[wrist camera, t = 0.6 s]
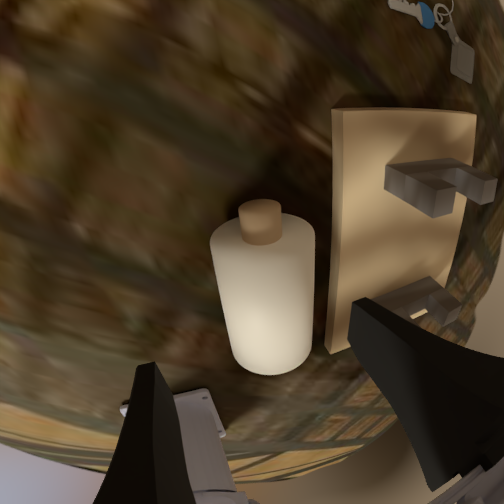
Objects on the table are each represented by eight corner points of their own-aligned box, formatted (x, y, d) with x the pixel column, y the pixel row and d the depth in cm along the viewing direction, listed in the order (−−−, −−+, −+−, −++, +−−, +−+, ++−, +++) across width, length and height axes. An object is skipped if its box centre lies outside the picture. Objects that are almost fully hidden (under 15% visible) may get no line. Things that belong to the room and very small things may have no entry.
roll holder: (431, 299, 29) (465, 332, 24) (324, 344, 26) (355, 393, 21) (465, 111, 18) (521, 130, 14) (331, 108, 16) (398, 125, 11)
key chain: (477, 76, 18) (484, 77, 17) (424, 111, 18) (432, 114, 17) (413, -75, 10) (420, -77, 9) (337, -68, 10) (344, -72, 9)
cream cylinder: (292, 321, 23) (324, 371, 19) (226, 342, 22) (248, 398, 18) (286, 181, 17) (336, 217, 13) (196, 200, 16) (219, 246, 12)
